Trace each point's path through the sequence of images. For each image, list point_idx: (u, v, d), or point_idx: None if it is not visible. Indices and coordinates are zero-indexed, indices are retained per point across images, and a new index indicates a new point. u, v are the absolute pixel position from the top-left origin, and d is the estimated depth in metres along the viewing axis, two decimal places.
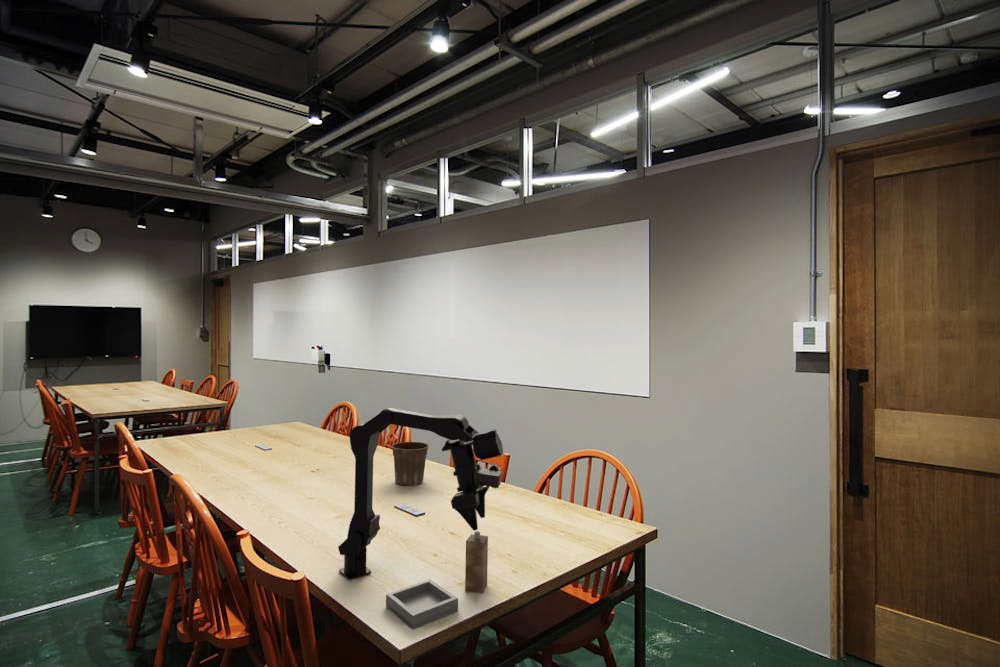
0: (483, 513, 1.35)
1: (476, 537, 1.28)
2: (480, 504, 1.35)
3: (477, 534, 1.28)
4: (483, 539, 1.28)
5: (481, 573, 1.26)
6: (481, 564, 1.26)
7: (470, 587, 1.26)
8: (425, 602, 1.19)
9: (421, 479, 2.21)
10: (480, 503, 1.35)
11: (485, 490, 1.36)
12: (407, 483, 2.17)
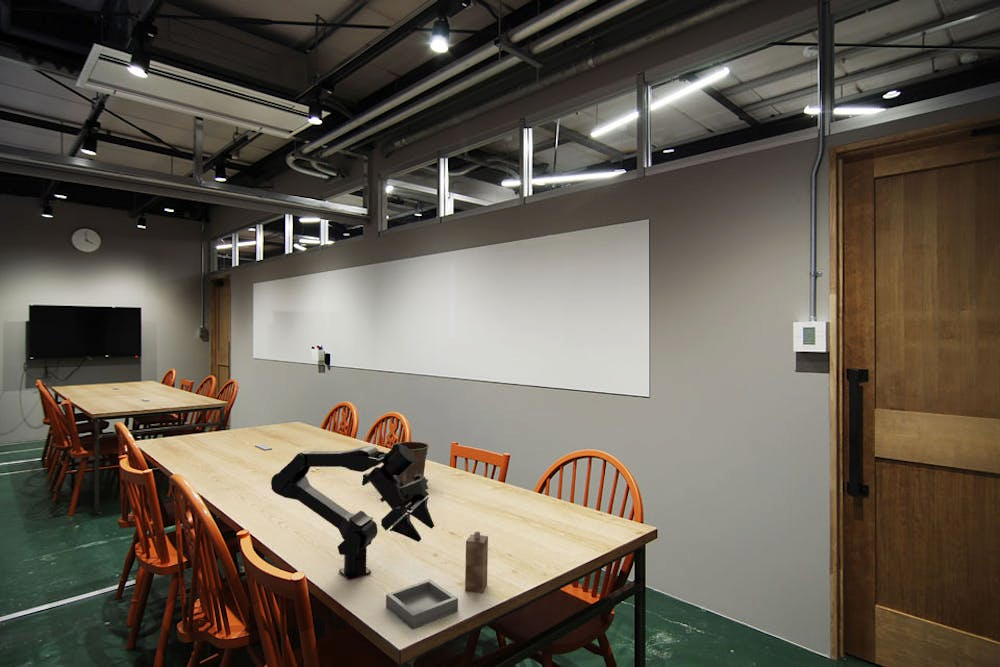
0: (431, 523, 1.36)
1: (476, 537, 1.28)
2: (424, 516, 1.37)
3: (477, 534, 1.28)
4: (483, 539, 1.28)
5: (481, 573, 1.26)
6: (481, 564, 1.26)
7: (470, 587, 1.26)
8: (425, 602, 1.19)
9: None
10: (424, 515, 1.37)
11: (423, 501, 1.37)
12: (407, 483, 2.17)
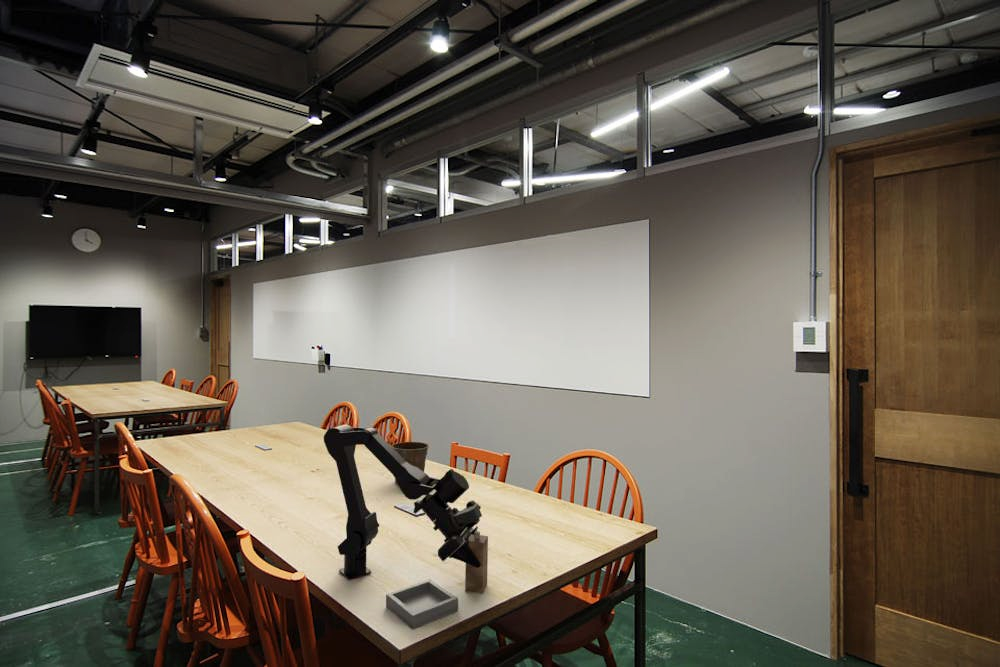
0: None
1: (476, 537, 1.28)
2: None
3: (477, 534, 1.28)
4: (483, 539, 1.28)
5: (481, 573, 1.26)
6: (481, 564, 1.26)
7: (470, 587, 1.26)
8: (425, 602, 1.19)
9: None
10: None
11: (473, 531, 1.32)
12: None
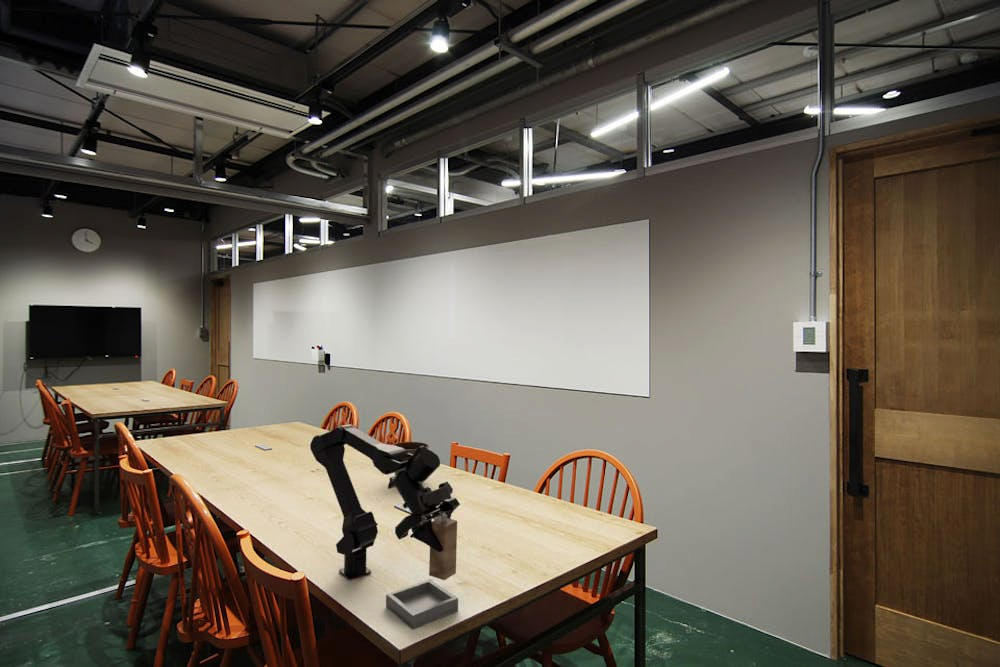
0: None
1: (442, 520, 1.20)
2: None
3: (443, 517, 1.20)
4: (449, 523, 1.20)
5: (443, 558, 1.18)
6: (443, 549, 1.18)
7: (433, 572, 1.19)
8: (425, 602, 1.19)
9: None
10: None
11: None
12: None
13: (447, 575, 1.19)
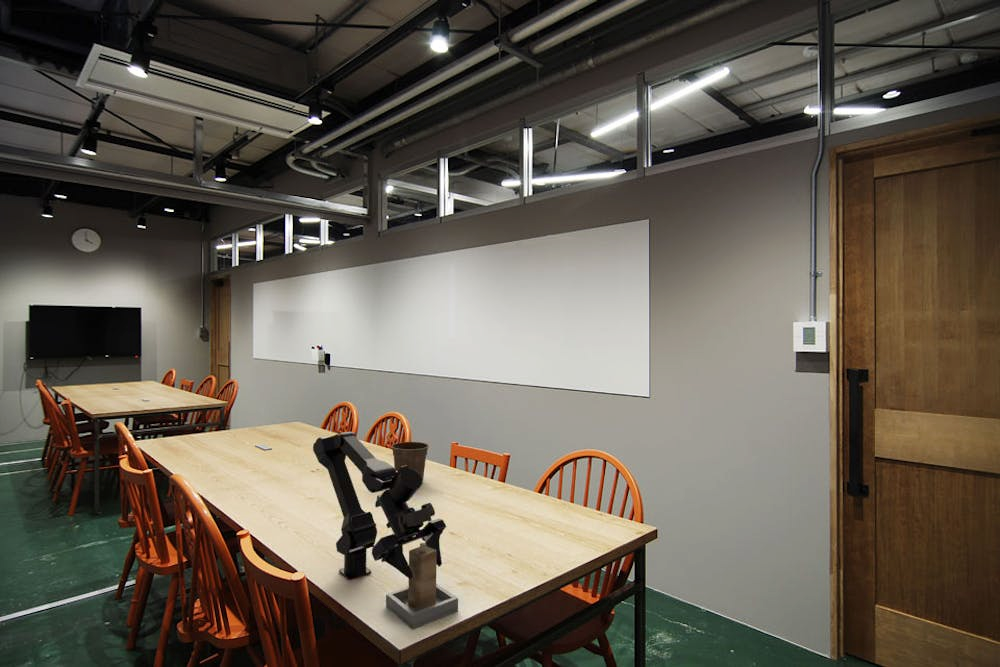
0: (438, 560, 1.21)
1: (420, 549, 1.18)
2: None
3: (421, 546, 1.18)
4: (427, 552, 1.17)
5: (420, 589, 1.15)
6: (420, 579, 1.15)
7: (411, 602, 1.17)
8: None
9: None
10: None
11: (433, 534, 1.23)
12: None
13: (425, 606, 1.16)
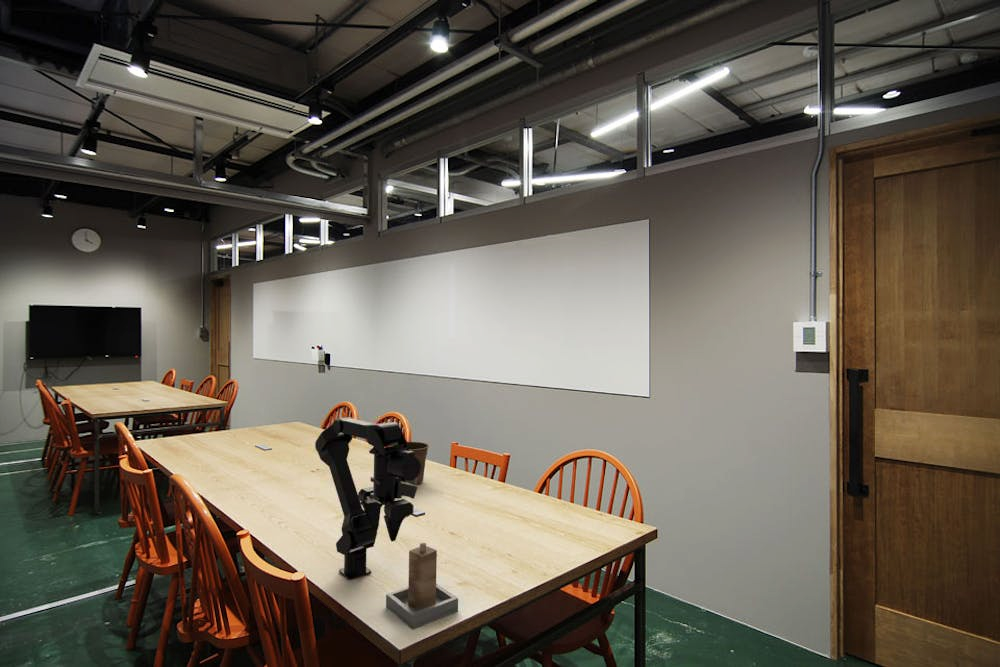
0: (377, 525, 1.32)
1: (420, 549, 1.18)
2: (376, 516, 1.32)
3: (421, 546, 1.18)
4: (427, 552, 1.17)
5: (420, 589, 1.15)
6: (420, 579, 1.15)
7: (411, 602, 1.17)
8: None
9: (421, 479, 2.21)
10: (376, 515, 1.32)
11: None
12: None
13: (425, 606, 1.16)
